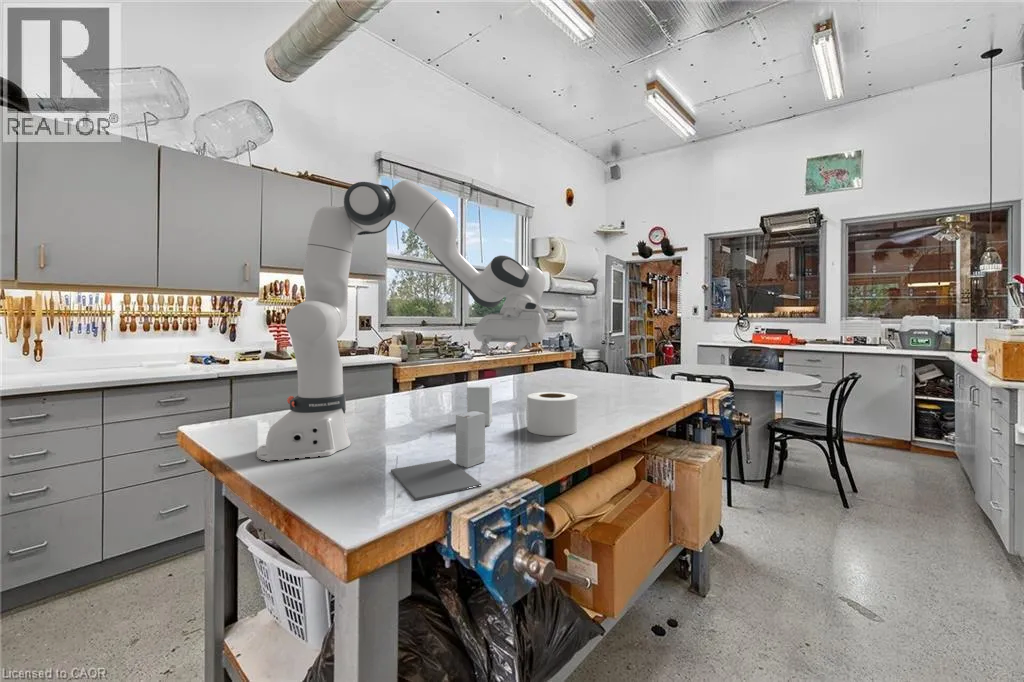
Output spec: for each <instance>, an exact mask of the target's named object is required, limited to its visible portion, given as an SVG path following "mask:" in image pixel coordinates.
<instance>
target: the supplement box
mask: <svg viewBox="0 0 1024 682" xmlns="http://www.w3.org/2000/svg"><path fill="white" fill-rule="evenodd" d="M466 399H467V401H466V405H467V406H466V408H467V409H466V413H467V412H472V411H477V412H482V413H485V427H490V426H491V424H492V422H493V384H492V383H470V384H469V385H468V386H467V387H466Z"/></svg>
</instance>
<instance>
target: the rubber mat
mask: <svg viewBox="0 0 1024 682" xmlns="http://www.w3.org/2000/svg"><path fill="white" fill-rule="evenodd" d="M390 472H391V473H392V475H393V476H394V477H395V478H396V479H397V481H398V482H399V483H400V484H401V485H402V486H403V487H404V489H406V491H407V492H408V493H409V494H410V495H411V497H412V498H413V499H414V501H420V500H424V498H425V499H428V498H429V499H430V498H434V497H438V495H439V496H443V495H447V493H448V494H451V493H450V492H453V493H455V492H454V491H457V492H460V491H459V490H462V491H464V490H463V489H467V488H469V487H473V486H479V485H481V486H482V483H481V482H479V481H478V480H477V479H475V478H474V477H473V476H472V475H470V474H469V473H467V472H466V471H465V470H463V469H462V468H461V467H459V465H458V464H456V463H454V462H453V461H451V460H450V458H449V459H442V460H437V461H431V462H426V463H420V464H415V465H409V466H403V467H397V468H396V467H395V468H391V469H390ZM467 490H468V489H467ZM442 494H443V495H442ZM433 496H434V497H433Z"/></svg>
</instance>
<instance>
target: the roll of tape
mask: <svg viewBox="0 0 1024 682" xmlns="http://www.w3.org/2000/svg"><path fill="white" fill-rule="evenodd" d="M526 398H527V399H526V400H527V401H526V403H527V405H526V406H527V407H526V408H527V409H526V411H527V412H526V413H527V418H526V420H527V421H526V423H527V424H526V425H527V426H526V429H527V431H528V433H529V432H530V433H532V434H534V435H538V436H546V437H555V436H556V437H558V436H559V437H563V436H568V435H572V434H575V433H576V432H577V431H578V395H576V394H573V393H569V392H561V391H560V392H557V391H542V392H533V393H529V394H527V397H526Z"/></svg>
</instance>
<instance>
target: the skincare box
mask: <svg viewBox="0 0 1024 682" xmlns="http://www.w3.org/2000/svg"><path fill="white" fill-rule="evenodd" d="M484 462H486V426H485V413H482V412H477V411H472V412H467V411H466V412H463V413H460V414H455V464H456V465H457V466H461V467H463V466H464V467H463V468H471V467H474V466H477V465H478V464H482V463H484Z"/></svg>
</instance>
